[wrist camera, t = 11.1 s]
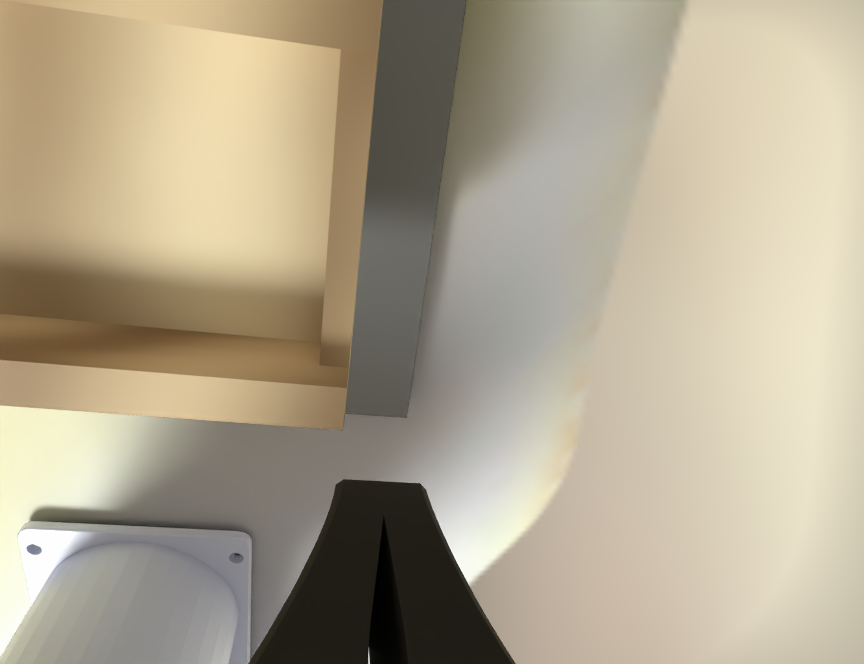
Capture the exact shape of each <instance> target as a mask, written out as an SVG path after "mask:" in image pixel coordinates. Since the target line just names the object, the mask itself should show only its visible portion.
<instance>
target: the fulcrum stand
mask: <svg viewBox="0 0 864 664" xmlns="http://www.w3.org/2000/svg"><path fill="white" fill-rule="evenodd" d="M465 7H466V0H383V6H382V17H381V28H380V39H379V49H378V60H377V71H376V82H375V93H374V104H373V115H372V126H371V137H370V148H369V159H368V170H367V181H366V192H365V203H364V214H363V225H362V236H361V247H360V258H359V269H358V279H357V290H356V301H355V312H354V323H353V334H352V345H351V356H350V366H349V376H348V386H347V396H346V405H345V413H347V414H361V415H374V416H388V417H401V418H407V413H408V406H409V399H410V392H411V385H412V378H413V371H414V364H415V357H416V350H417V343H418V336H419V329H420V322H421V315H422V308H423V301H424V294H425V287H426V280H427V273H428V266H429V259H430V252H431V245H432V238H433V231H434V224H435V217H436V210H437V203H438V196H439V189H440V182H441V175H442V168H443V161H444V154H445V147H446V140H447V133H448V126H449V119H450V112H451V105H452V98H453V91H454V84H455V77H456V70H457V63H458V56H459V49H460V42H461V35H462V28H463V21H464V14H465Z"/></svg>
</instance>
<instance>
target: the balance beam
mask: <svg viewBox="0 0 864 664" xmlns="http://www.w3.org/2000/svg"><path fill="white" fill-rule="evenodd" d="M382 6H383V0H0V405H3V406H17V407H31V408H44V409H58V410H72V411H85V412H99V413H113V414H126V415H140V416H154V417H167V418H181V419H194V420H208V421H222V422H235V423H249V424H263V425H276V426H290V427H304V428H317V429H331V430H343V425H344V415H345V405H346V396H347V386H348V376H349V366H350V356H351V345H352V334H353V323H354V312H355V301H356V290H357V279H358V269H359V258H360V247H361V236H362V225H363V214H364V203H365V192H366V181H367V170H368V159H369V148H370V137H371V126H372V115H373V104H374V93H375V82H376V71H377V60H378V49H379V39H380V28H381V17H382Z"/></svg>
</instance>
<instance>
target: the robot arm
mask: <svg viewBox="0 0 864 664" xmlns="http://www.w3.org/2000/svg"><path fill="white" fill-rule="evenodd" d="M18 542H19V546H20V551H21V556H22V561H23V566H24V571H25V576H26V581H27V586H28V591H29V596H30V601H31V607H30V609H29V610H28V612H27V614H26V615H25V617H24V619H23V620H22V622H21V624H20V625H19V627H18V629H17V630H16V632H15V634H14V635H13V637H12V639H11V641H10V642H9V644H8V646H7V647H6V649H5V651H4V652H3V654H2V656H1V657H0V664H368V650H369V656H370V664H515V662H514V660H513V659H512V657H511V656H510V654H509V653H508V651H507V650H506V648H505V647H504V645H503V643H502V642H501V640H500V638H499V637H498V635H497V633H496V632H495V630H494V629H493V627H492V626H491V624H490V622H489V620H488V619H487V617H486V615H485V614H484V612H483V610H482V608H481V607H480V605H479V603H478V602H477V600H476V598H475V596H474V594H473V592H472V590H471V588H470V587H469V585H468V583H467V581H466V579H465V577H464V575H463V573H462V572H461V570H460V568H459V566H458V564H457V562H456V560H455V558H454V556H453V554H452V552H451V550H450V548H449V546H448V543H447V541H446V539H445V537H444V535H443V533H442V530H441V528H440V526H439V523H438V521H437V519H436V516H435V514H434V511H433V509H432V506H431V503H430V501H429V498H428V495H427V492H426V489H425V488H424V487H423V486H422V485H421V484H420V483H401V482H382V481H363V480H345V479H343V480H342V481H341V482H339V483H338V484H336V486H335V492H334V496H333V500H332V503H331V506H330V509H329V512H328V515H327V518H326V520H325V523H324V525H323V528H322V530H321V533H320V535H319V537H318V540H317V542H316V544H315V546H314V548H313V550H312V552H311V554H310V556H309V558H308V560H307V562H306V564H305V567H304V569H303V571H302V573H301V575H300V577H299V579H298V581H297V583H296V584H295V586H294V588H293V590H292V592H291V594H290V595H289V597H288V599H287V600H286V602H285V604H284V606H283V607H282V609H281V611H280V613H279V614H278V616H277V618H276V619H275V621H274V623H273V625H272V626H271V628H270V630H269V631H268V633H267V635H266V637H265V638H264V640H263V641H262V643H261V645H260V646H259V648H258V649H257V651H256V652H255V654H254V656H253V657H252V659H251V660H250V632H251V569H252V540H251V537H250V536H249V535H248V534H246V533H244V532H240V531H226V530H206V529H185V528H165V527H145V526H124V525H104V524H83V523H63V522H43V521H31V522H28V523H25V524H24V526H23V527H22V528H21V530H20V531H19V533H18ZM34 544H36V545H38V546H36V545H34ZM233 553H238V554H241V555H235V554H233Z"/></svg>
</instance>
